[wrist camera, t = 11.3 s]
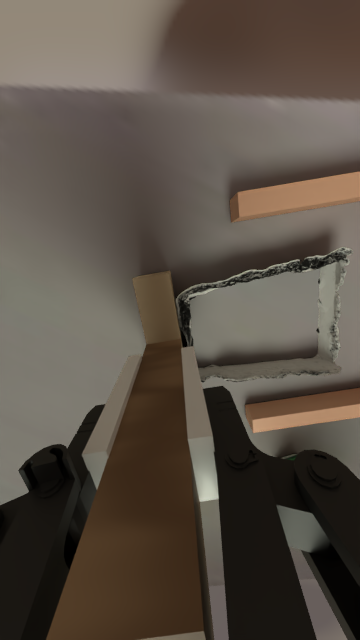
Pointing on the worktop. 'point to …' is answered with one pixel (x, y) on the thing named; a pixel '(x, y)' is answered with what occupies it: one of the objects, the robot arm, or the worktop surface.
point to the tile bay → (282, 202)
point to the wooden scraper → (144, 508)
